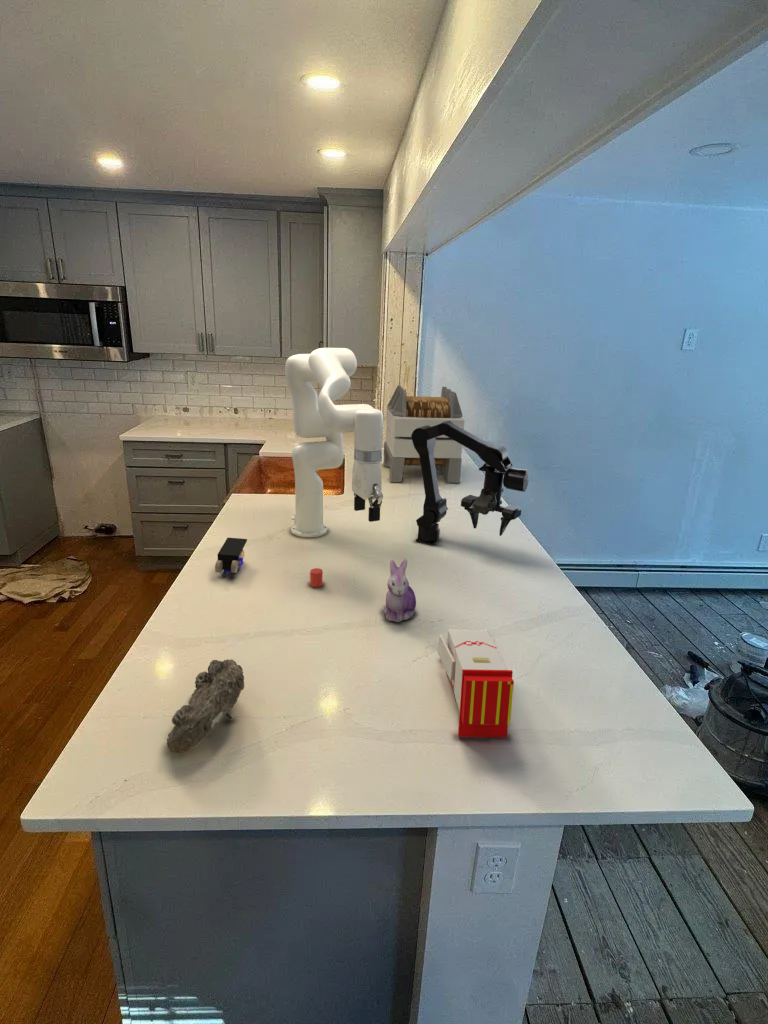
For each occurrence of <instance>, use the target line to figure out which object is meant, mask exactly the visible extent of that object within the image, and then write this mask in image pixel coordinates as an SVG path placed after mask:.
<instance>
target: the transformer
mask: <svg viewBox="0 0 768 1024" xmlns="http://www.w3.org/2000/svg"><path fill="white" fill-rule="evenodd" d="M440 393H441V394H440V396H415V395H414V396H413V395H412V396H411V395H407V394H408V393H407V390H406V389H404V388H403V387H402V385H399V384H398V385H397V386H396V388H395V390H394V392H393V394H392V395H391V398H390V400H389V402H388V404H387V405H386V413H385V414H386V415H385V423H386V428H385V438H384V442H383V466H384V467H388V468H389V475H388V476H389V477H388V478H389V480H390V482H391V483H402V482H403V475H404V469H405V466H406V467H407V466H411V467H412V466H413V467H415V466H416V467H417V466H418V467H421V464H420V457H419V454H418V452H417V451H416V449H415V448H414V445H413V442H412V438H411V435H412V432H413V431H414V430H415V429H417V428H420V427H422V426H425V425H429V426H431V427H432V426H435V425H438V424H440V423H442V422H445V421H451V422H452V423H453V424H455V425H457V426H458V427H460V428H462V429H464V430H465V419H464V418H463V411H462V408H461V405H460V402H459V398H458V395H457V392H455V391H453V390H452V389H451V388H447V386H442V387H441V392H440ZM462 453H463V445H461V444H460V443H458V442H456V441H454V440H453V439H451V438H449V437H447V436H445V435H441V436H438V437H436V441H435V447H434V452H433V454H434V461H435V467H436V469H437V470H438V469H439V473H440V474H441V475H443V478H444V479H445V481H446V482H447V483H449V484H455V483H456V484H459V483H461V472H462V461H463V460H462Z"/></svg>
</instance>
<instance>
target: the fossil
mask: <svg viewBox="0 0 768 1024" xmlns="http://www.w3.org/2000/svg"><path fill="white" fill-rule="evenodd" d="M243 670H244V669H243V667H242V665H240V664H237V662H236V661H235V660H234V659H232V658H231V659H227V658H226V659H224V660H223V661H222V660H217V659H212V660H211V661H210V663H209V665H208V666H207V671H201V672H199V673H198V674H197V675H196V676H195V680H194V684H195V685H194V687H195V689H194V690H193V693H192V694H191V697H190V698H189V700H188V704H184V705H182V706H181V707H180V709H177V710H176V711H175V713H174V715H173V716H172V718H171V723H172V724H173V727H172V730H171V731H170V732H168V734H167V738H166V741H167V742H166V745H167V749H168V750H169V751H173V752H174V753H176V754H178V753H182V752H188V751H189V752H192V751H193V750H195V748H196V747H197V746H199V744H200V743H201V742H203V741H204V740H205V739H206V738H207V737H208V736H209V735H210V734H211V733H212V732H214V730H215V729H217V727H218V726H219V724H220V722H221V721H222V720H223V719H224V718H225V716H226V717H227V719H229V720H233V717H232V715H230V714H229V710H230V709H231V708H234V706H235V704H236V703H237V702H238V699H239V697H240V695H241V693H242V691H243V690H245V689H244V688H245V675H244V671H243Z"/></svg>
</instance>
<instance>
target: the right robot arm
mask: <svg viewBox="0 0 768 1024" xmlns="http://www.w3.org/2000/svg"><path fill="white" fill-rule="evenodd" d="M441 435H445V436H447V437H449V438H451V439H453V440H454V441H456V442H458V443H460V444H461V445H462V447H465V448H467V450H468V449H469V450H470V451H472V452H474V453H475V454H476V455H477V457H479V459H480V460H482V462H484V464H483V465H482V466H481V467H479V468H478V471H481V472H484V480H483V487H482V488H481V491H480V494H479V496H477V495H472V494H468V495H466V496H463V498H461V500H460V507H463V509H464V510H465V511H467V512H468V514H469V516H470V520H471V523H472V526H473V529H475V530H476V529H477V527H478V524H479V516H480V514H481V515H484V516H487V515H488V514H489V512H492V513H494V512H498V513H501V517H500V521H501V522H500V527H499V537H502V536H503V534H504V532H505V531H506V529H507V527H508V525H509V524H510V522H511V521H514V520H516V519H517V518H519V517H521V515H522V509H521V507H520V506H516V505H513V504H509V505H506V506H503V505H502V504H503V500H501V499H502V493H504V488H505V489H508V490H512V491H517V492H523V493H525V492H526V490H527V489H528V486H529V480H530V479H529V473H528V469H526V468H517V467H514V464H513V462H512V461H511V458H510V457H509V452H508V449H507V447H505V446H504V445H501V444H499V443H495V442H493V441H489V440H488V441H487V440H484V439H483V438H480V437H478V436H477V435H474V434H473V433H471V432H469V431H468V430H466V429H465V428H464V429H462V428H460V427H458V426H457V425H455V424H453V423H452V422H451V421H445V422H442V423H440V424H438V425H435V426H432V427H431V426H429V425H425V426H422V427H420V428H417V429H415V430H414V431H413V432H412V435H411V438H412V442H413V445H414V448H415V449H416V451H417V452H418V454H419V457H420V464H421V466H420V470H421V476H422V483H423V490H424V496H425V498H424V502H423V506H422V508H423V509H422V515H421V516H420V517H418V518H416V520H415V522H416V526H417V538H416V539H415V542H417V543H421V544H425V545H430V546H435V544H436V543H437V542H438V541H439V540H440V532H441V528H439V526H440V524H439V522H441V520H442V519H444V518H445V517H446V515H447V511H448V510H449V507H448V505H447V500H448V499H447V498H446V497H444V498H443V497H442V495H441V494H440V490H439V483H438V476H437V467H436V466H435V461H434V454H433V452H434V447H435V441H436V437H438V436H441ZM503 487H504V488H503Z"/></svg>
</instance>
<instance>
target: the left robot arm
mask: <svg viewBox="0 0 768 1024" xmlns="http://www.w3.org/2000/svg"><path fill="white" fill-rule="evenodd" d="M357 369H358V361H357V357H356V355H355V353H354V352H353V351H352V349H350V348H348V347H319V348H316V349H314V350H313V351H311V353H298V354H293V355H291V356H289V357H288V358H287V359H286V361H285V365H284V375H285V380H286V383H287V386H288V389H289V391H290V395H291V403H292V417H293V428H294V432H295V434H296V436H297V437H299V438H300V439H301V438H302V439H313V438H325V440H321V441H306V442H301V443H298V444H296V445H295V446H294V447H293V448H292V451H291V459H292V460H291V461H292V465H293V471H294V499H295V501H294V502H295V504H294V505H295V507H294V508H295V512H294V513H295V514H294V515H292V516H291V520H292V521H293V522H294V524H293V525H292V526H291V528H290V532H291V534H292V535H295V536H297V537H301V538H317V537H322V536H325V534H327V533H328V526H327V525H326V524H324V482H323V479H322V478H321V476H319V474H318V473H317V472H318V471H321V470H322V471H323V470H331V469H337V468H340V467H341V466H342V465H343V463H344V455H345V452H344V435H343V434H344V433H345V434H346V433H354V436H353V437H354V441H353V443H354V444H353V445H354V446H353V465H352V475H351V476H352V477H351V491H352V492H353V496H354V497H353V510H354V511H355V512H358V511H365V510H366V501H367V500H368V504H369V506H368V517H367V518H368V519H367V520H368V522H370V523H372V522H379V521H380V520H381V507H382V503H383V499H384V494H383V492H382V466H381V465H382V464H381V463H382V462H383V436H384V413H383V412H382V410H380V409H378V408H374V407H373V406H372V405H370V404H367V403H356V404H355V403H353V404H352V403H351V404H334V402H335V401H337V400H339V399H340V398H343V397H344V396H345V395H346V394H347V393H348V392H349V390H350V388H351V385H352V384H351V383H352V382H351V378H350V377H352V376H353V375H354V374H355V373H356V370H357ZM311 382H317V384H318V385H319V386H320V388H321V390H320V392H319V394H318V392H317V391H316V389H315V388H314V386H313V385H312V384H311ZM373 500H374V501H373Z"/></svg>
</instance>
